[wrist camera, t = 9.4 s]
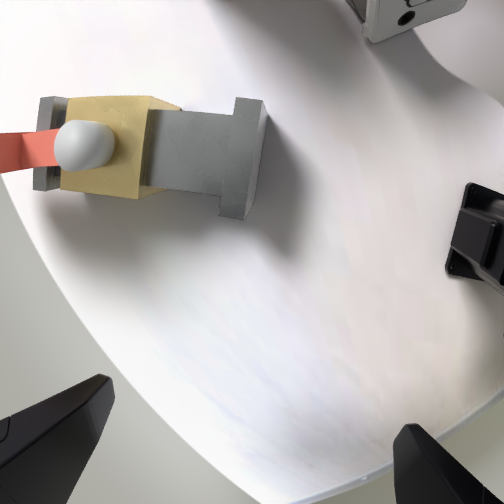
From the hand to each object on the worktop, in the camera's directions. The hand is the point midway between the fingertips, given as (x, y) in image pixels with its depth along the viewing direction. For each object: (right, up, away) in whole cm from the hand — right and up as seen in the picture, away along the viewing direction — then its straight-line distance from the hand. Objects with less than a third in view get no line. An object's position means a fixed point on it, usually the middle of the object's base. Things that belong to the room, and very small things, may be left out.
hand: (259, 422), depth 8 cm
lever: (-13, +11, +6) cm, 18 cm away
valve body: (-6, +12, +11) cm, 17 cm away
